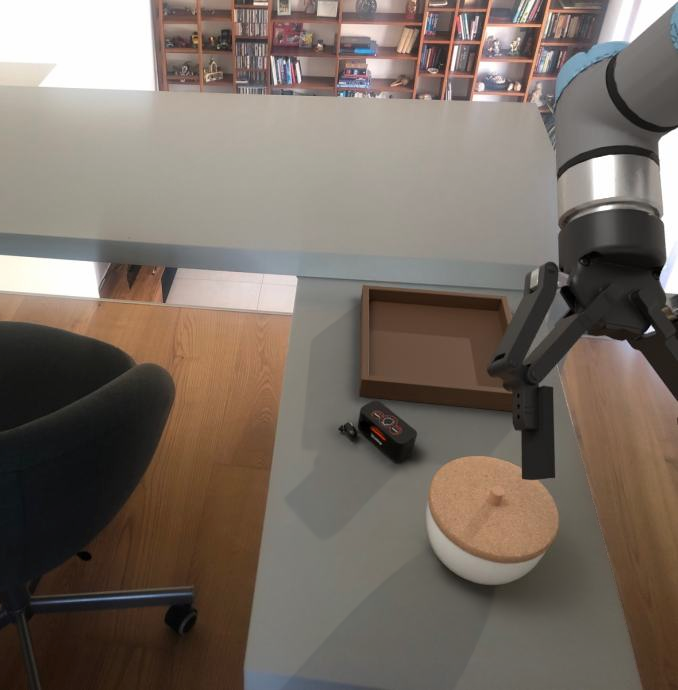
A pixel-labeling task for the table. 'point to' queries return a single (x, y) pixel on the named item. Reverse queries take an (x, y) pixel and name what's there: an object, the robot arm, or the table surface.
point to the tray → (432, 346)
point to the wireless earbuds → (384, 430)
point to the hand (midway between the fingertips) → (622, 491)
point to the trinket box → (489, 519)
